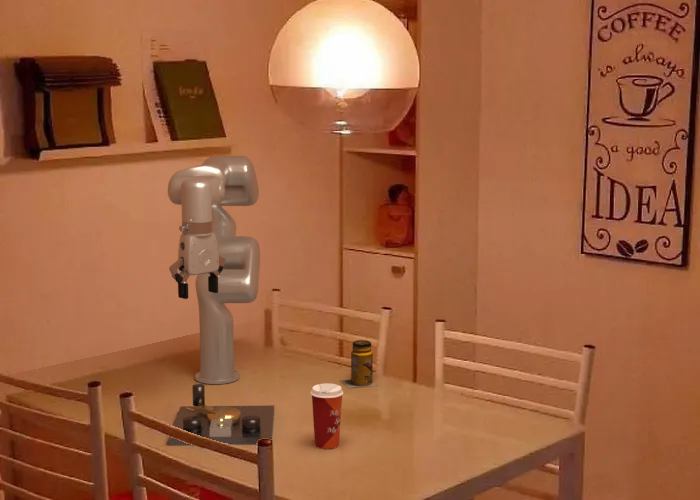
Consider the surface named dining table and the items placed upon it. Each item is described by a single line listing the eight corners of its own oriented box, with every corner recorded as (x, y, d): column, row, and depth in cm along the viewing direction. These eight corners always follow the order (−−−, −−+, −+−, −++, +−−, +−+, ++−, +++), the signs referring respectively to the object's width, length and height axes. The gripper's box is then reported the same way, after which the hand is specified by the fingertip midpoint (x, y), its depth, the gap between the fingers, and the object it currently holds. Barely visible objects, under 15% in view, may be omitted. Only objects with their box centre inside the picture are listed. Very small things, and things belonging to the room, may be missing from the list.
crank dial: (247, 420, 256) (246, 394, 255) (221, 427, 250) (221, 401, 249) (207, 406, 267) (207, 381, 265) (182, 413, 261) (181, 387, 260)
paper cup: (339, 451, 240) (339, 393, 238) (307, 449, 241) (306, 391, 239) (346, 440, 247) (346, 383, 245) (315, 438, 249) (314, 381, 247)
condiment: (377, 385, 291) (377, 344, 289) (348, 388, 288) (348, 346, 286) (368, 378, 298) (368, 337, 296) (340, 381, 295) (340, 340, 293)
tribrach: (180, 412, 267) (180, 391, 266) (274, 411, 268) (274, 390, 268) (168, 445, 244) (168, 422, 243) (271, 444, 245) (271, 421, 244)
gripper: (179, 233, 253) (180, 302, 256) (233, 226, 265) (234, 292, 268) (160, 230, 258) (161, 298, 261) (213, 223, 270) (215, 288, 273)
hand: (198, 295), depth 265 cm, fingers open, 9 cm apart
